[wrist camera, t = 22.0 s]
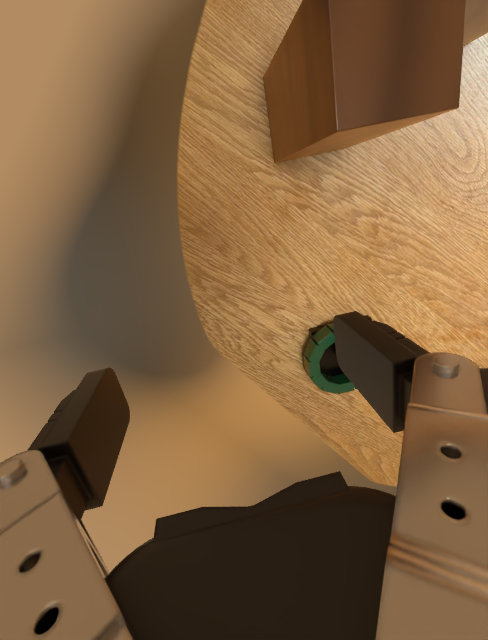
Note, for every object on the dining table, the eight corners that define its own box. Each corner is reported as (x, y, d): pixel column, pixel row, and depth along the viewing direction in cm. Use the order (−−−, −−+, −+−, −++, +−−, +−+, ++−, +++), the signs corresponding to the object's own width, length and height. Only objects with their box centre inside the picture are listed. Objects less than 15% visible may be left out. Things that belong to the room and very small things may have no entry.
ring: (307, 390, 47) (312, 400, 45) (300, 330, 44) (305, 337, 41) (371, 375, 48) (379, 384, 46) (370, 314, 44) (379, 320, 42)
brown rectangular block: (274, 163, 36) (336, 132, 20) (262, 77, 33) (325, -45, 17) (342, 149, 37) (459, 107, 20) (337, 63, 34) (471, -70, 17)
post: (314, 380, 48) (353, 440, 36) (308, 328, 45) (348, 376, 33) (369, 366, 49) (425, 422, 37) (367, 315, 45) (428, 357, 33)
